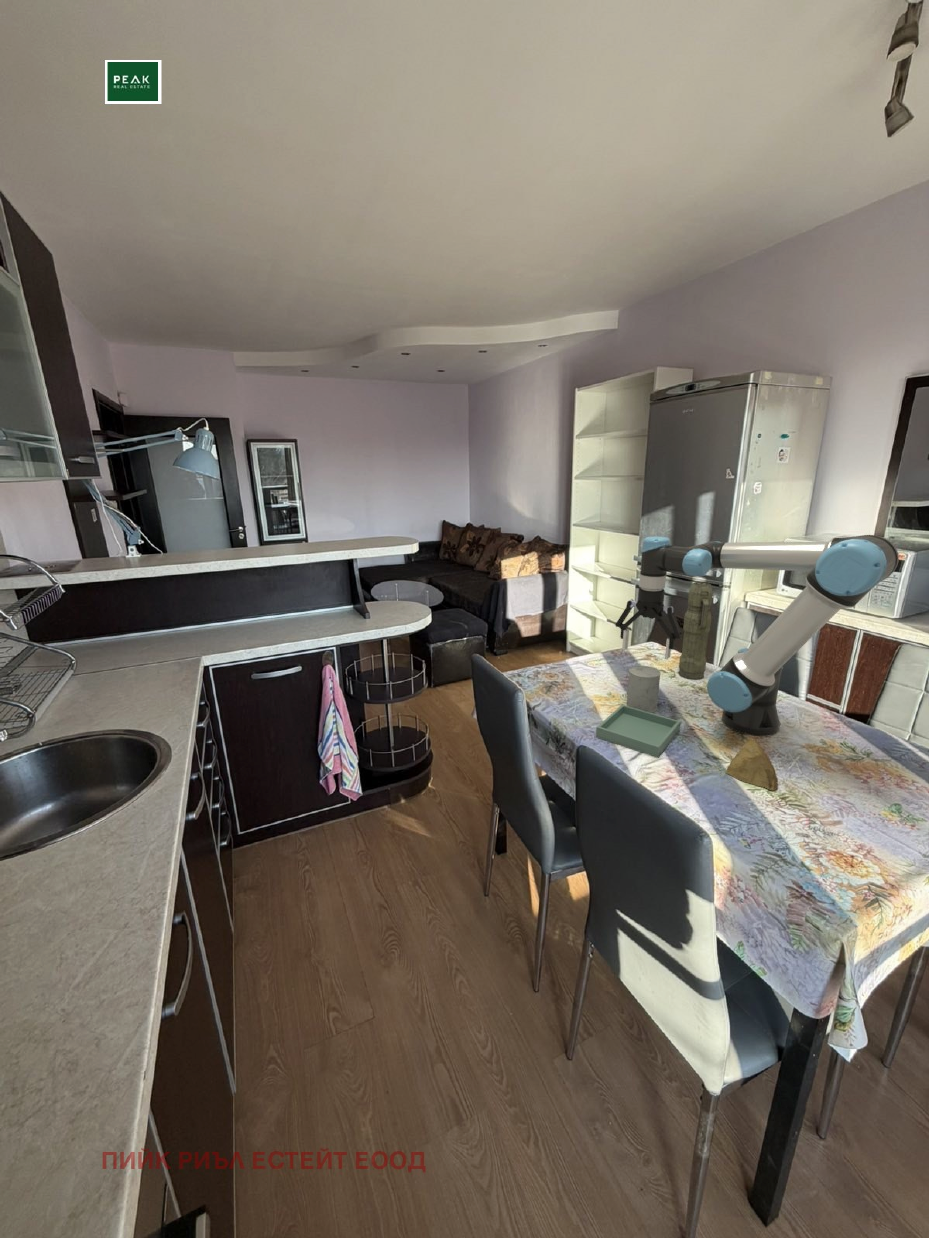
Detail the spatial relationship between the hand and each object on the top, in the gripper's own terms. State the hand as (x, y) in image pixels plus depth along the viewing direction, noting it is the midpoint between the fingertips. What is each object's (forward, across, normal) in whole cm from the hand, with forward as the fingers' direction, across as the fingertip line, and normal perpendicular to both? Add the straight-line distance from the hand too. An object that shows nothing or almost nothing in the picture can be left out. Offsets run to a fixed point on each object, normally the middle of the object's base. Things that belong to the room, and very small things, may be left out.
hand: (645, 653), depth 161 cm
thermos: (+19, -5, -35) cm, 40 cm away
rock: (+18, -37, +23) cm, 48 cm away
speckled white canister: (+19, 0, 0) cm, 19 cm away
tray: (+18, -6, +18) cm, 26 cm away
